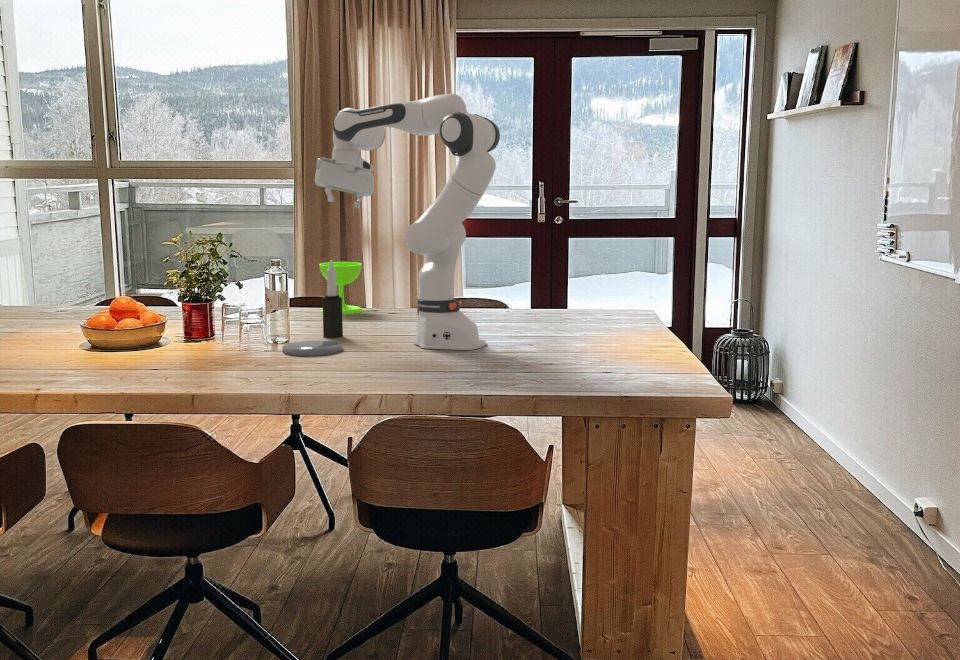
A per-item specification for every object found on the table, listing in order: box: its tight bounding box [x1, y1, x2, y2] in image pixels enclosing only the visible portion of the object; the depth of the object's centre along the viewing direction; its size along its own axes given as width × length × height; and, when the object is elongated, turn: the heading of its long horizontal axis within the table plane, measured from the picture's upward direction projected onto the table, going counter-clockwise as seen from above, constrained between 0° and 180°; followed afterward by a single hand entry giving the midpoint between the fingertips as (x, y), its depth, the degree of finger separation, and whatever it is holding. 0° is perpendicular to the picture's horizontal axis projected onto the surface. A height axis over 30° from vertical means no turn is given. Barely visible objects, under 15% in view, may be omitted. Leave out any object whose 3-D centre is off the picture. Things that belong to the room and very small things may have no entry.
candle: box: [322, 259, 344, 339], centre depth 299 cm, size 5×5×25 cm
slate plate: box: [281, 340, 344, 357], centre depth 279 cm, size 18×18×1 cm
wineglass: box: [318, 261, 364, 315], centre depth 351 cm, size 16×16×18 cm
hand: (343, 204), depth 297 cm, fingers open, 8 cm apart
